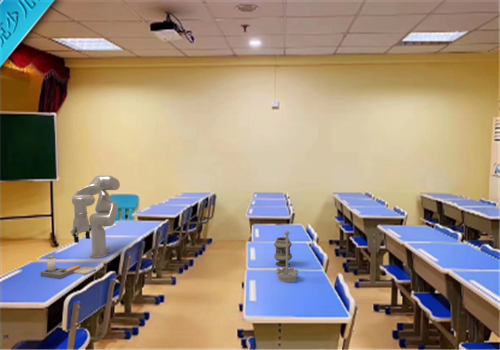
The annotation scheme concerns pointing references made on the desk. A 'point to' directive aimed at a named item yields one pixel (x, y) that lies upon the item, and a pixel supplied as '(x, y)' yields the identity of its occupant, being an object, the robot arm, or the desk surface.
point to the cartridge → (51, 263)
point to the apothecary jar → (282, 251)
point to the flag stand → (286, 273)
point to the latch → (73, 268)
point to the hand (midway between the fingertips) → (82, 240)
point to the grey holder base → (57, 273)
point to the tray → (85, 270)
